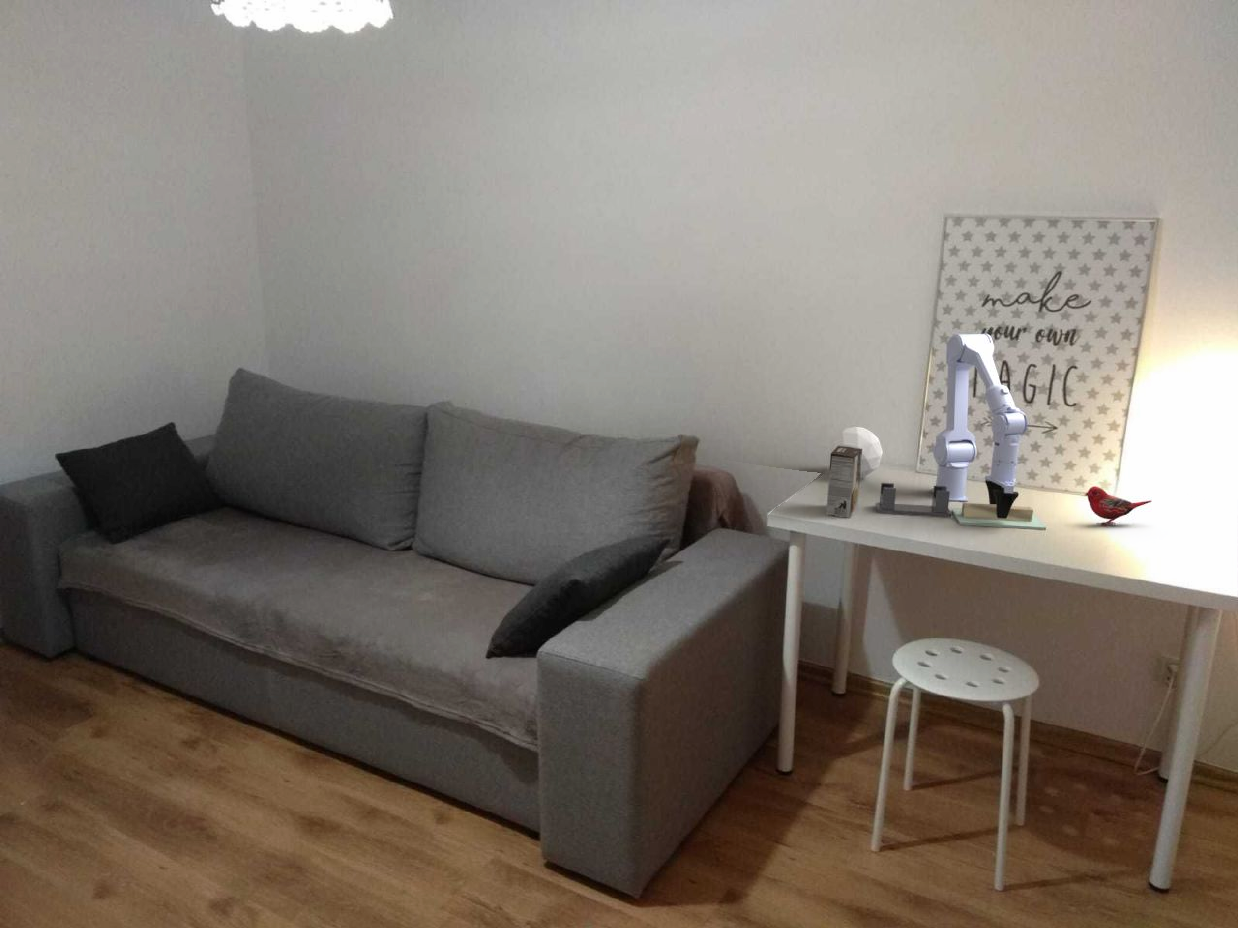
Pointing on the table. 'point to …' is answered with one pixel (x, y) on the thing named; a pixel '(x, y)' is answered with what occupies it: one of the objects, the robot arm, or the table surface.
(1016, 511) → the beech rail
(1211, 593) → the table surface
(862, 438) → the white faceted ovoid
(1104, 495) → the decorative bird figurine
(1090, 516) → the table surface
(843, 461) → the coffee box
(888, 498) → the grey u-shaped holder
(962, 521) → the green mat
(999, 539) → the table surface
